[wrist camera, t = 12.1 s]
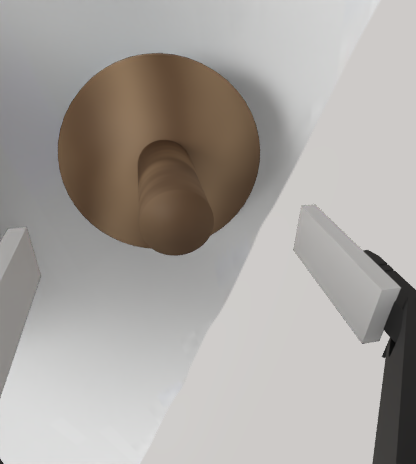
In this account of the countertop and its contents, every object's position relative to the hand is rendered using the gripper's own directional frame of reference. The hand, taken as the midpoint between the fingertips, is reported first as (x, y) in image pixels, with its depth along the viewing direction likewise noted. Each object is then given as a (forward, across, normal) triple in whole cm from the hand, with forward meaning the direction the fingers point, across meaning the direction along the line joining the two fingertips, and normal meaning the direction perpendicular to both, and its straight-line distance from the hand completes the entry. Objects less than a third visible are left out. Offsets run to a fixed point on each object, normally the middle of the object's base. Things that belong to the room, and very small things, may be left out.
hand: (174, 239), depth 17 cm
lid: (+12, 0, 0) cm, 12 cm away
